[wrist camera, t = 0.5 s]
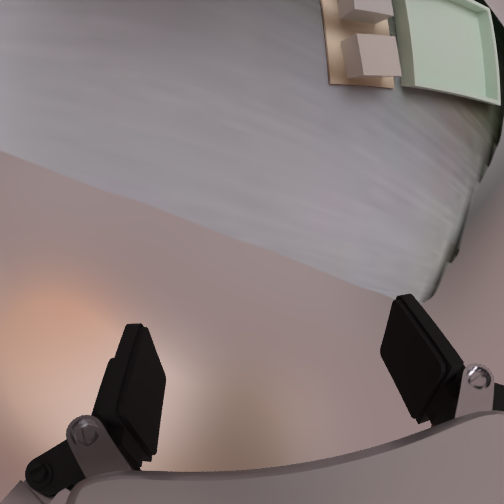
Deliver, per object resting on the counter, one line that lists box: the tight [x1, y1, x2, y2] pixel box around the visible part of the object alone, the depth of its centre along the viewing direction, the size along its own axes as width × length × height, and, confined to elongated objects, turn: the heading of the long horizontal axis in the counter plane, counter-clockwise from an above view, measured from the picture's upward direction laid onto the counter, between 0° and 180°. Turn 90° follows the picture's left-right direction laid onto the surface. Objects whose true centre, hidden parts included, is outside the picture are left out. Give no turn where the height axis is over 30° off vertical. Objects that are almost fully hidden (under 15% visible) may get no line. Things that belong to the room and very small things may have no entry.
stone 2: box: [341, 34, 402, 78], centre depth 28 cm, size 5×5×5 cm
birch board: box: [320, 0, 394, 88], centre depth 28 cm, size 15×9×1 cm, turn 5°
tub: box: [391, 0, 501, 105], centre depth 27 cm, size 17×18×4 cm
